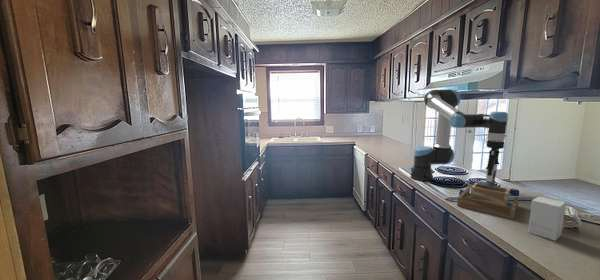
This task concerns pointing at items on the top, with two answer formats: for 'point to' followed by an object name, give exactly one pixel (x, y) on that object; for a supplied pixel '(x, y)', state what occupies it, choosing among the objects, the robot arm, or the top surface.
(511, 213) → the bay
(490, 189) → the crate
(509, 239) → the top surface
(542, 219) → the supplement box
